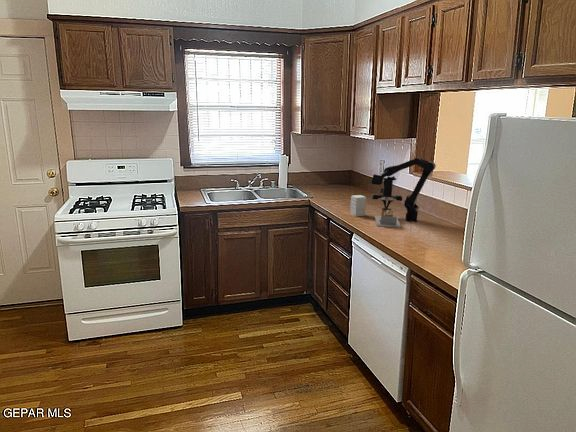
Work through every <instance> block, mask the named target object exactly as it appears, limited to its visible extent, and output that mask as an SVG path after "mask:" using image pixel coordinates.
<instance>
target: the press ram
mask: <svg viewBox="0 0 576 432" xmlns="http://www.w3.org/2000/svg"><path fill="white" fill-rule="evenodd" d="M384 211H386V212H387V211H390V212H393V213H394V210H392V207H391V208H389V207H388V208H385V207H381V211H380V212H381V213H380V216H384Z"/></svg>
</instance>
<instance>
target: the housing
mask: <svg viewBox="0 0 576 432" xmlns="http://www.w3.org/2000/svg"><path fill="white" fill-rule="evenodd" d="M384 216H389V217H394V211H393V212H390V211H387V212H386V211H384Z"/></svg>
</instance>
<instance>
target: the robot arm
mask: <svg viewBox="0 0 576 432" xmlns="http://www.w3.org/2000/svg"><path fill="white" fill-rule="evenodd" d="M416 165H417V166H419V167H420V168H422V173H421V176H420V177H419V180H418V181H417V183H416V185H415V187H414V189H413V190H412V192H411V194H408V195H406V198H405V200H404V201H403V196H402V195H401V194H395V195H393V188H394V187H393V185H394V181H396V180H397V178H396V177H395V174H396V173H398V172H400V171H402V170H405V169H407V168H410V167H413V166H416ZM436 166H437V165H436V163H435V161H428V160H425V159H422V158H420V157H419V156H418V157H415V158H413V159H411V160H408V161H405V162H402V163H401V164H398V165H397V164H395V165H390V166H388V167H386V168H384V170H383V172H382V174H373V176H372V179H371V185H372V186H373V185H374V186H382V185H383V187H381V188H379V193H372V194H371V199H372V200H378V199H380V201H381V202H383V208H389V207H390V204H391V203H393V200H396V201H398V202H401V201H403V202H404V205H403V206H404V208H406V212H405V217H404V219H405V220H406V222H415V223H417V222H418V214H419V211H418V210H419V208H420V207H419V205H418V204H417V200H418V196H419V195H420V192H421V191H422V189H423V187H424V186H425V184H426V182H427V180H428V178H429V176H430V175H431V174H432V173H433V172H434V170H435V169H436Z"/></svg>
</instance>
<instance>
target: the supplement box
mask: <svg viewBox="0 0 576 432" xmlns="http://www.w3.org/2000/svg"><path fill="white" fill-rule="evenodd" d="M366 204H367V196H365V195H361V194H358V195H357V194H356V195H352V194H351V197H350V208H349V210H350V212H349V215H352V216H354V217H365V216H366Z"/></svg>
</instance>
